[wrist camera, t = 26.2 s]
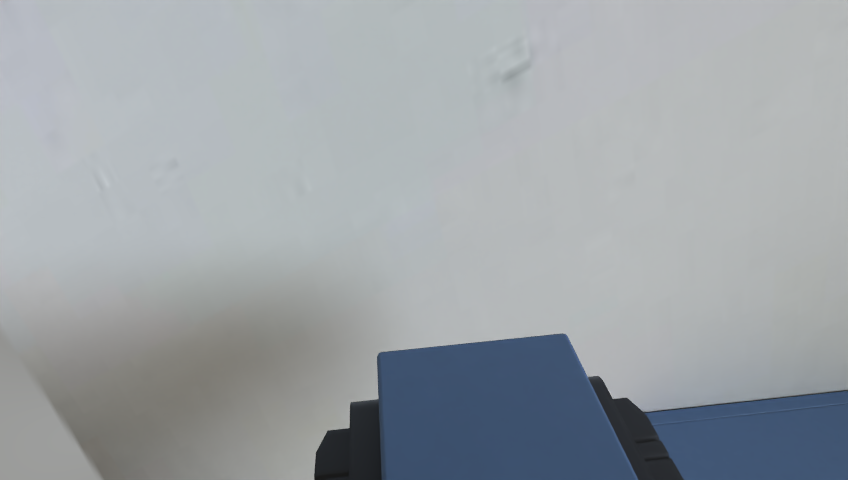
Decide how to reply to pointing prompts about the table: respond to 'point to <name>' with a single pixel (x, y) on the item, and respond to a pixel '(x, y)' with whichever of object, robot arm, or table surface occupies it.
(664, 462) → the robot arm
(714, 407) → the slate bin
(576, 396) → the slate-blue block
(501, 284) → the table surface
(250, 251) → the table surface
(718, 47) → the table surface
